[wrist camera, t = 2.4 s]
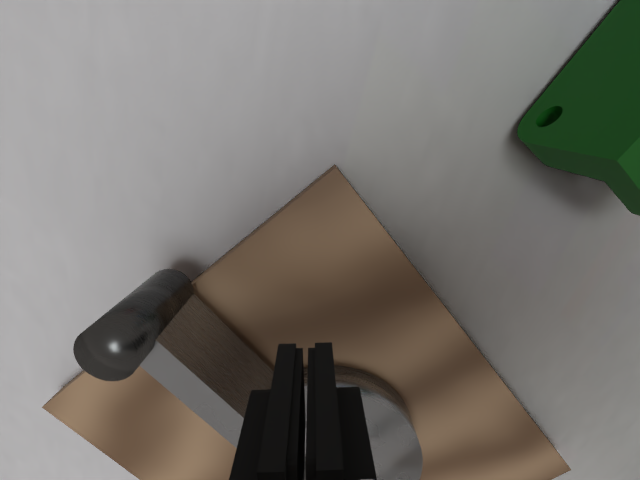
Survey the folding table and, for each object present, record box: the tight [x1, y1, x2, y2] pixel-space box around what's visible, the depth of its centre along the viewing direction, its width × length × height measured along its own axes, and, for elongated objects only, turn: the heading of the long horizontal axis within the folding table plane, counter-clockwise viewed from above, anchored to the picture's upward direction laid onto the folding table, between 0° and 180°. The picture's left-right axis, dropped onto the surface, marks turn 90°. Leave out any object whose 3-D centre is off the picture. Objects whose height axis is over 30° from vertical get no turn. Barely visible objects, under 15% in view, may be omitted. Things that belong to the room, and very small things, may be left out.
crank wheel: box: [74, 269, 423, 480], centre depth 15 cm, size 19×10×5 cm, turn 39°
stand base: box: [42, 165, 571, 480], centre depth 18 cm, size 24×22×5 cm
